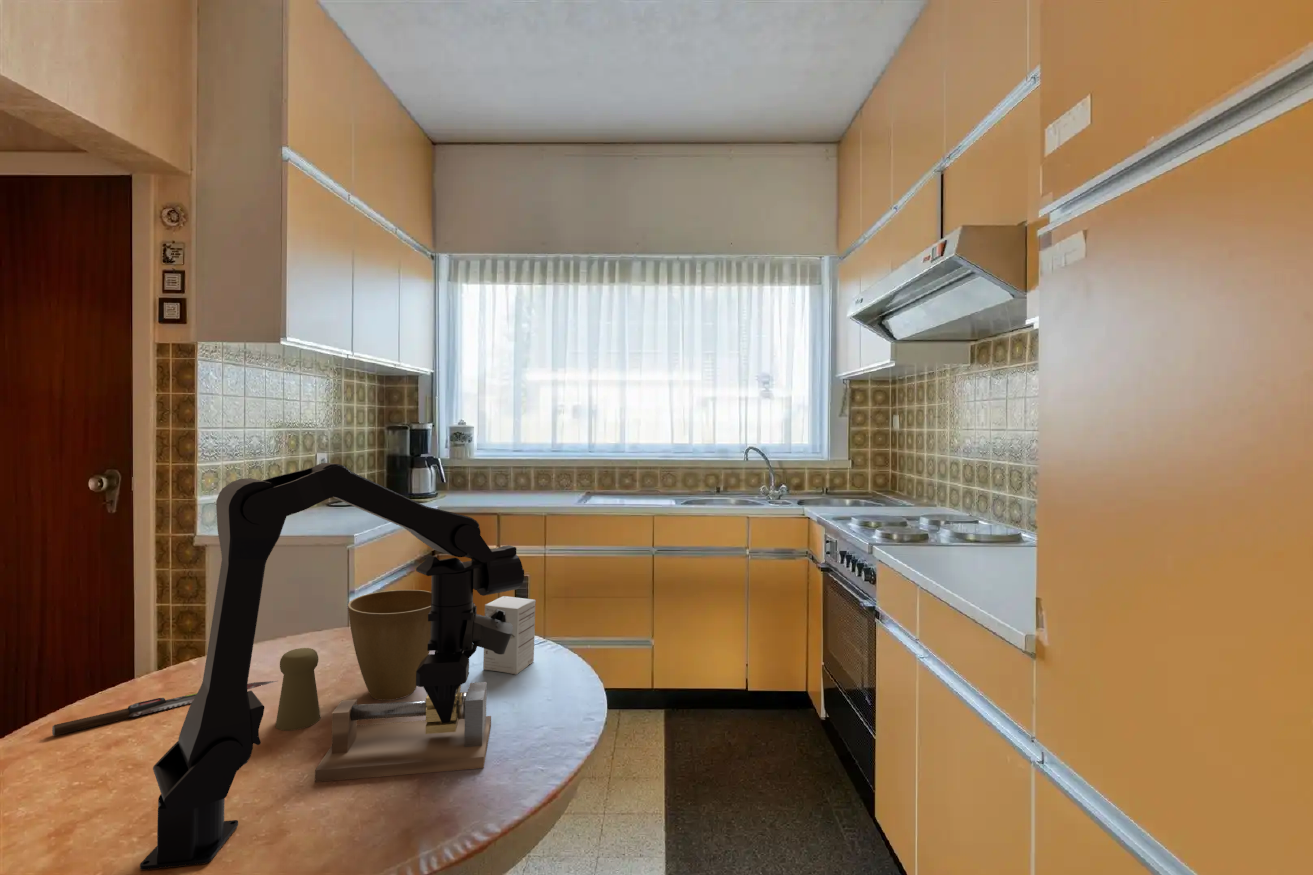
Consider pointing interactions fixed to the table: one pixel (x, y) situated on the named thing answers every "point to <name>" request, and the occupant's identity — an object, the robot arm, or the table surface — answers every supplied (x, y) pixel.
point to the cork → (298, 690)
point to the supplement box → (513, 635)
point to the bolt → (468, 705)
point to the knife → (130, 712)
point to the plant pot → (390, 639)
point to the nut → (434, 721)
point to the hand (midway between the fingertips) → (450, 709)
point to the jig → (394, 748)
